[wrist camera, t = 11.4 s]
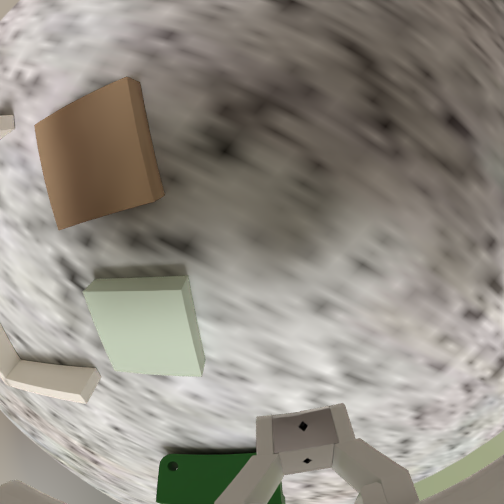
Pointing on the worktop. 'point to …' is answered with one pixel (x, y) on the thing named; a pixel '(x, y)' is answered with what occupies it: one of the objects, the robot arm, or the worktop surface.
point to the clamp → (201, 478)
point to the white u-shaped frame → (42, 374)
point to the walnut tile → (99, 155)
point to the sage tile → (147, 324)
